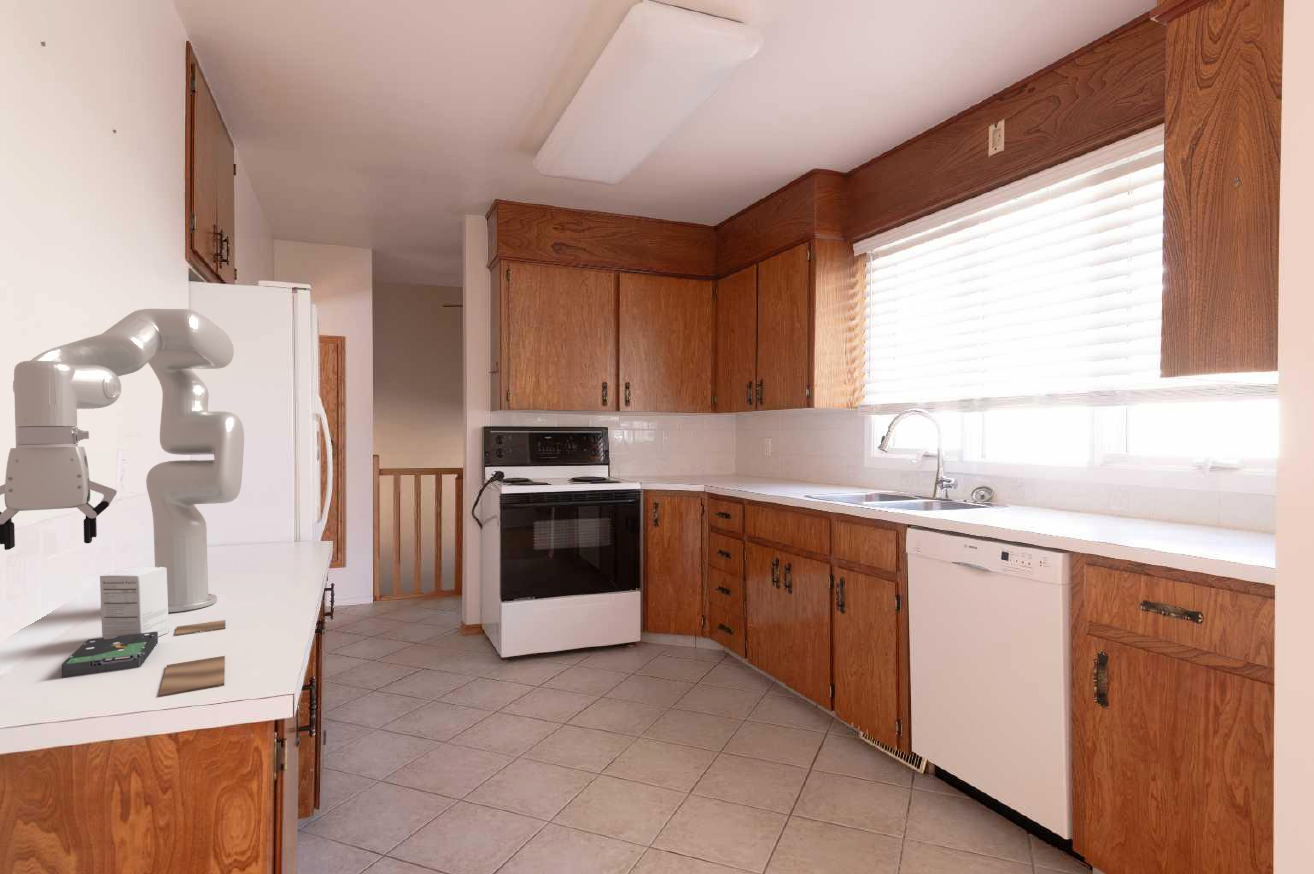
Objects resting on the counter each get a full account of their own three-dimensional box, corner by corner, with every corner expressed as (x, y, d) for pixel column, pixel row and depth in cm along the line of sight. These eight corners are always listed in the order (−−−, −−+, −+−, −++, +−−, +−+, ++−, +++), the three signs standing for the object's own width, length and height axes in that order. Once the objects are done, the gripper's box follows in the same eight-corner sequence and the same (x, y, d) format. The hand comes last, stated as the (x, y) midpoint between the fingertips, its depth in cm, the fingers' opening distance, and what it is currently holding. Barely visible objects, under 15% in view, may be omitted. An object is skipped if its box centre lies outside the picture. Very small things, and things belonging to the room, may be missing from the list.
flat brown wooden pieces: (177, 628, 137) (176, 626, 137) (225, 621, 141) (225, 619, 141) (159, 696, 102) (159, 694, 102) (224, 685, 106) (224, 683, 106)
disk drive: (86, 655, 123) (60, 681, 110) (86, 639, 123) (60, 663, 110) (158, 645, 128) (142, 669, 114) (158, 630, 128) (141, 652, 114)
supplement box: (132, 633, 134) (130, 566, 134) (170, 632, 134) (168, 566, 133) (100, 645, 126) (98, 575, 126) (140, 645, 126) (138, 574, 126)
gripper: (117, 437, 121) (119, 537, 121) (-21, 439, 111) (-18, 548, 112) (112, 437, 114) (115, 542, 115) (-34, 439, 105) (-31, 554, 105)
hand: (49, 545), depth 113 cm, fingers open, 9 cm apart
